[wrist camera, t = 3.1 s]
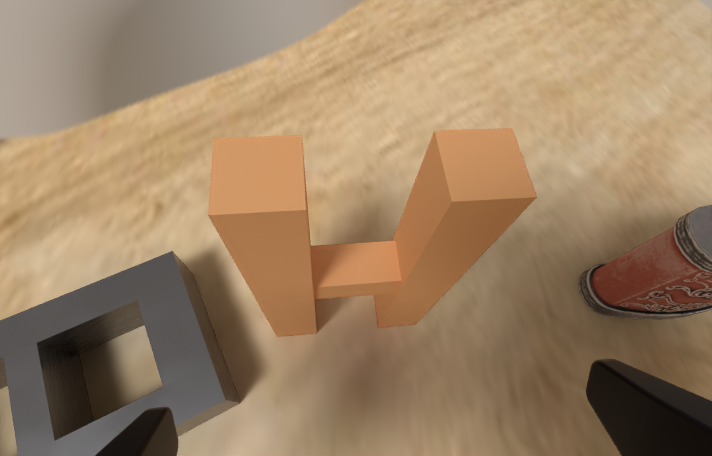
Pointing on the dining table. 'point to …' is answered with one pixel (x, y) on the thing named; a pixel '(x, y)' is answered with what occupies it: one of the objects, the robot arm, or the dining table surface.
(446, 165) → the orange letter h block
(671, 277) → the lighter
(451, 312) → the dining table surface
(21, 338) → the grey slotted base block
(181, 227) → the dining table surface
